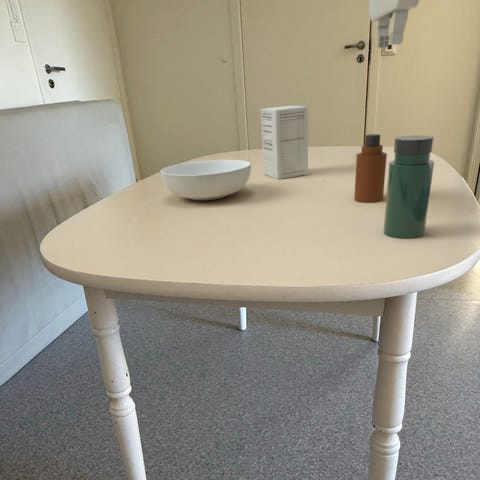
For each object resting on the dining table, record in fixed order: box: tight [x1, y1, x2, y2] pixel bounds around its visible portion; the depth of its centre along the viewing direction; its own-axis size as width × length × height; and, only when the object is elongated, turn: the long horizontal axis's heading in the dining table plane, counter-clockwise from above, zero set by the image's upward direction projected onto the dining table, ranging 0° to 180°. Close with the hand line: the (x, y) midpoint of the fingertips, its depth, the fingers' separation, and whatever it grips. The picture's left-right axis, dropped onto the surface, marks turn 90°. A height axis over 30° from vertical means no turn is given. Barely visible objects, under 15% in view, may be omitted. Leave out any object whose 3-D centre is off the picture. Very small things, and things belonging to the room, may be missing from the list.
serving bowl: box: [160, 159, 252, 202], centre depth 104 cm, size 21×21×7 cm
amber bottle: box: [353, 133, 388, 204], centre depth 90 cm, size 6×6×12 cm
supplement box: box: [260, 105, 309, 180], centre depth 118 cm, size 10×9×17 cm
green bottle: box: [382, 134, 435, 239], centre depth 70 cm, size 6×6×14 cm
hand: (388, 46), depth 79 cm, fingers open, 8 cm apart
